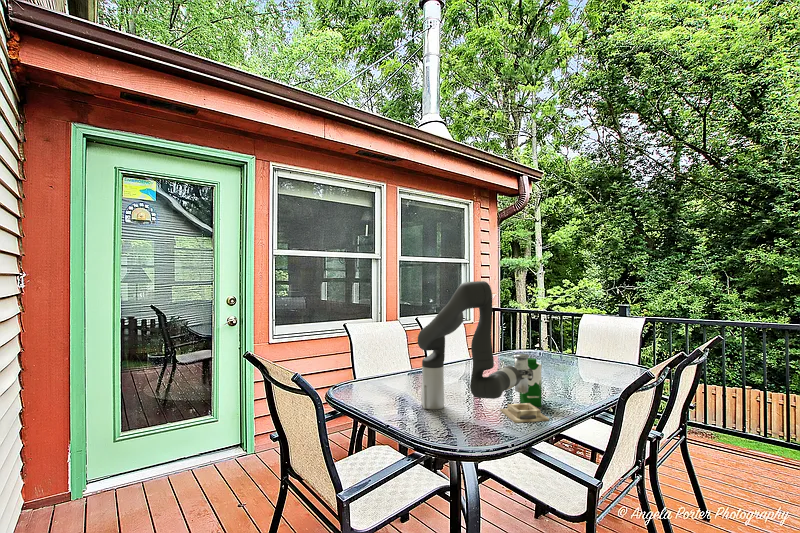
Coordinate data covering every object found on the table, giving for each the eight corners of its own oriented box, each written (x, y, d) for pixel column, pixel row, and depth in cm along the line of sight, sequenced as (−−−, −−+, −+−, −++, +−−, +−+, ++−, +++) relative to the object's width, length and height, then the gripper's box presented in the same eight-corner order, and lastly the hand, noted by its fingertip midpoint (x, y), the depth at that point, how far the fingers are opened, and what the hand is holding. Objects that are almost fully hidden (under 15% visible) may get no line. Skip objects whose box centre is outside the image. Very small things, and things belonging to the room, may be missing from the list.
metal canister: (517, 393, 159) (517, 356, 159) (511, 389, 165) (511, 354, 165) (531, 392, 160) (531, 356, 160) (525, 388, 165) (524, 353, 166)
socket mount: (514, 422, 155) (514, 413, 155) (500, 410, 169) (500, 402, 169) (549, 420, 157) (548, 411, 157) (532, 409, 171) (532, 401, 171)
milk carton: (523, 408, 173) (523, 360, 173) (517, 401, 182) (516, 356, 182) (544, 407, 173) (543, 359, 174) (536, 401, 182) (535, 355, 183)
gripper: (525, 370, 147) (541, 362, 160) (488, 365, 156) (506, 358, 169) (525, 391, 147) (541, 382, 160) (488, 385, 156) (506, 376, 169)
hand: (523, 370), depth 165 cm, fingers closed on metal canister, 5 cm apart
